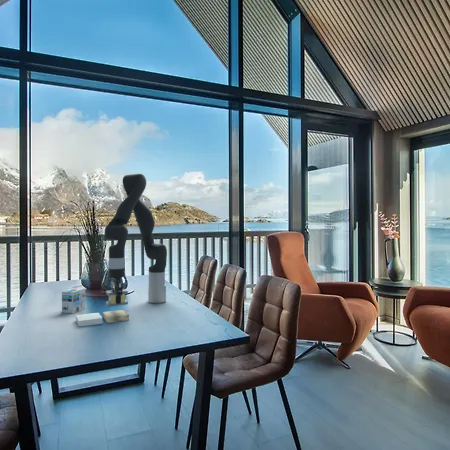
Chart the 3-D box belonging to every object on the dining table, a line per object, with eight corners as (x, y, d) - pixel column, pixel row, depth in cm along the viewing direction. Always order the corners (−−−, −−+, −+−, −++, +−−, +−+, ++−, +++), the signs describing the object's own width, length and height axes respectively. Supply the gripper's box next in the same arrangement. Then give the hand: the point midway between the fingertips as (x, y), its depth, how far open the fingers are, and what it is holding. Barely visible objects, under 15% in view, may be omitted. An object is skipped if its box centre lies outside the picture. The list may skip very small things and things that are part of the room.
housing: (125, 301, 173) (124, 288, 173) (127, 304, 169) (127, 291, 168) (106, 303, 169) (105, 290, 169) (108, 306, 164) (108, 293, 164)
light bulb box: (73, 313, 176) (73, 292, 176) (61, 312, 177) (61, 291, 177) (85, 308, 186) (85, 288, 186) (74, 307, 188) (74, 287, 187)
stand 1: (98, 317, 170) (98, 312, 170) (102, 323, 161) (102, 318, 161) (76, 320, 165) (76, 315, 165) (78, 326, 156) (78, 320, 156)
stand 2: (123, 314, 175) (123, 309, 175) (128, 320, 167) (128, 314, 167) (102, 317, 171) (102, 312, 171) (106, 322, 162) (107, 317, 162)
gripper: (128, 268, 164) (128, 304, 164) (121, 264, 176) (121, 297, 177) (111, 269, 160) (112, 306, 161) (105, 265, 172) (105, 299, 173)
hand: (116, 302), depth 169 cm, fingers closed on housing, 5 cm apart
